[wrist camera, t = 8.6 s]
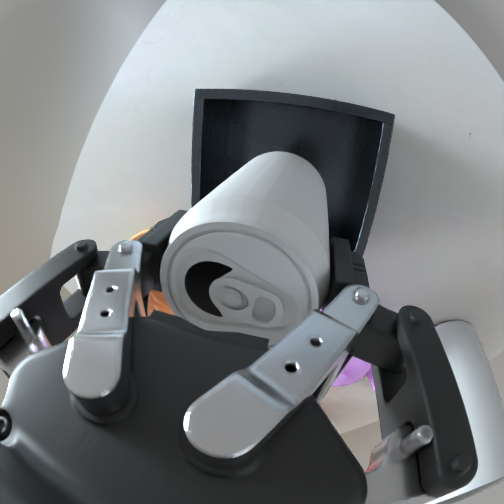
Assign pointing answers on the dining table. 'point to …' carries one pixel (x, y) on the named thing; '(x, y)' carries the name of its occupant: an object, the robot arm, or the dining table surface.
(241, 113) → the dark gray open box
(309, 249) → the beverage can
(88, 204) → the dining table surface
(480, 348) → the cylinder vase
